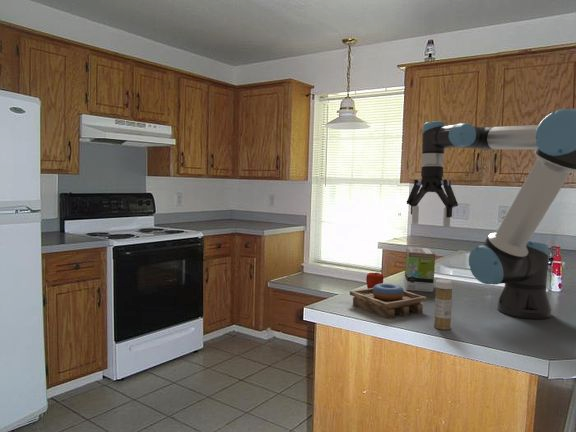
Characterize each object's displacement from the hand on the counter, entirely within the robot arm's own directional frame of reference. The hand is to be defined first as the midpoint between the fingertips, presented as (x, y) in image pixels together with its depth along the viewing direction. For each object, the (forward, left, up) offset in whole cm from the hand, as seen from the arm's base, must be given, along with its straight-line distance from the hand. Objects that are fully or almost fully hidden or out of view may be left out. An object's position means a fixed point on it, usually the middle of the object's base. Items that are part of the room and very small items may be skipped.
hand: (430, 225), depth 158 cm
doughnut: (-6, +25, -22) cm, 34 cm away
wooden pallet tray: (-6, +26, -25) cm, 37 cm away
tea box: (+10, -7, -26) cm, 29 cm away
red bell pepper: (+11, +15, -26) cm, 32 cm away
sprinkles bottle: (-28, +25, -26) cm, 46 cm away
